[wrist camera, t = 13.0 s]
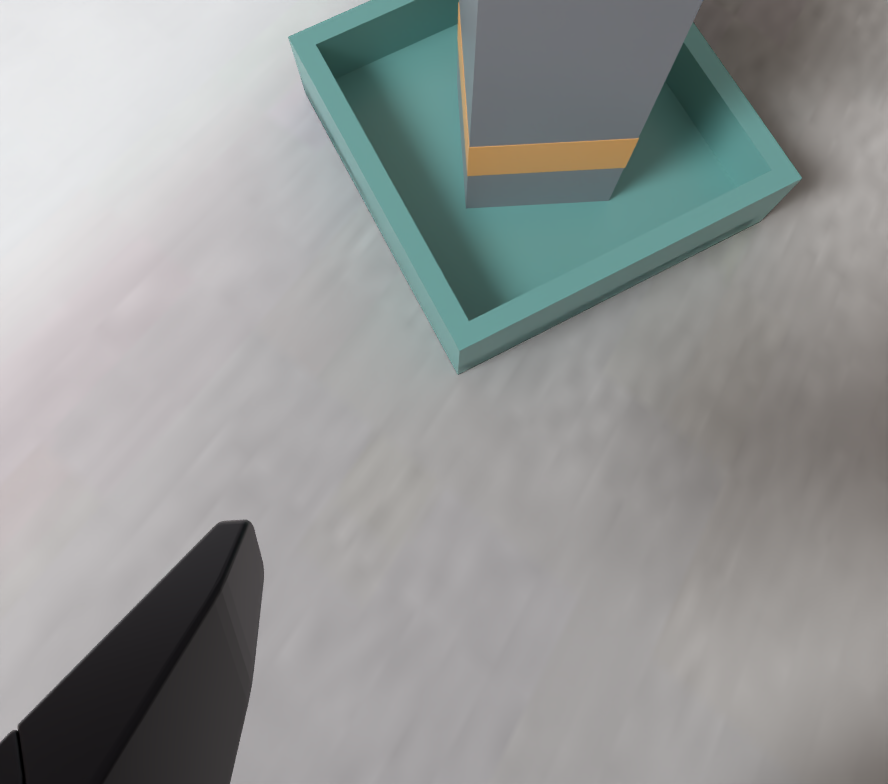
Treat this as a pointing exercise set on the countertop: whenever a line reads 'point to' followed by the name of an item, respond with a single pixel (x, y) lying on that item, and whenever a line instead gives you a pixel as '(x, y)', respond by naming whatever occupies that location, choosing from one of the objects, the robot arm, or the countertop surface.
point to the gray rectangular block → (559, 93)
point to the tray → (528, 226)
